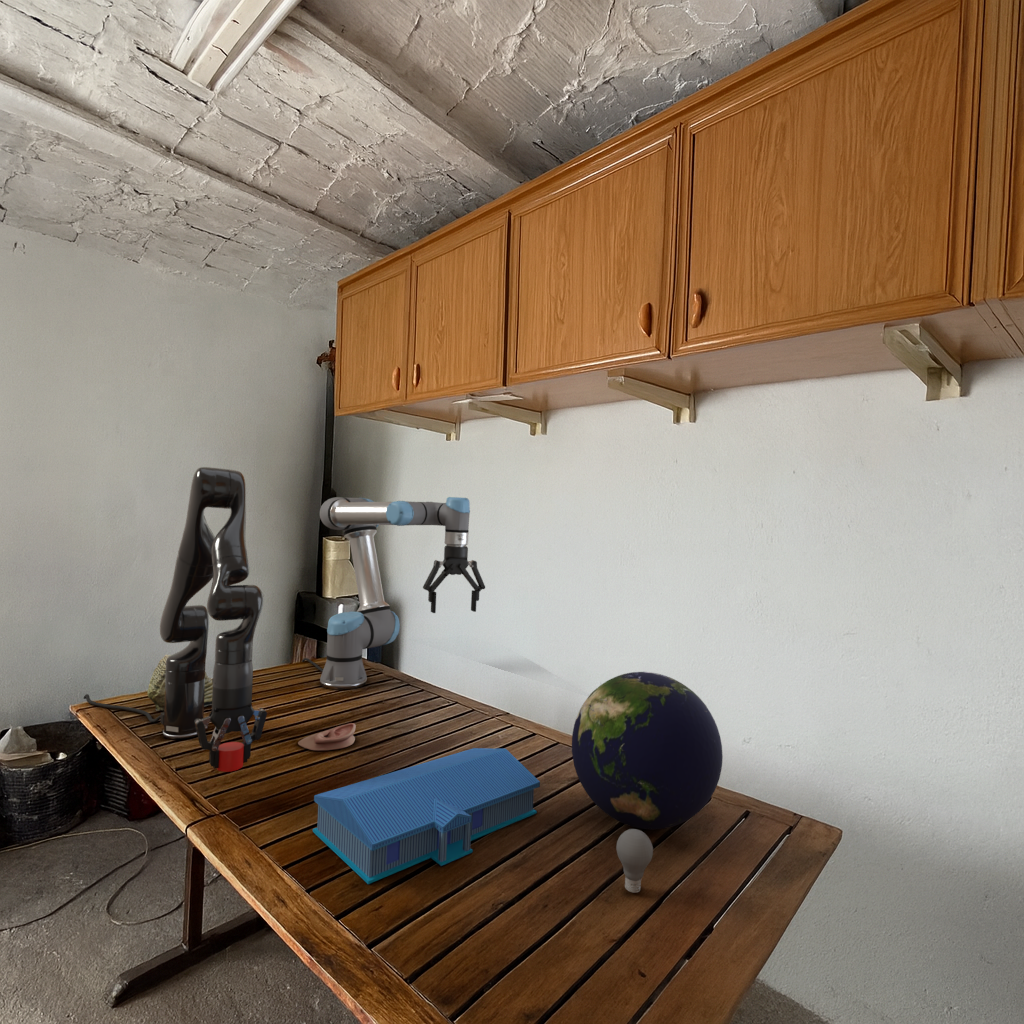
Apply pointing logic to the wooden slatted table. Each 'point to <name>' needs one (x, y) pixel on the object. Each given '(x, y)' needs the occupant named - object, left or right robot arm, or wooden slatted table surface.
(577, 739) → the globe
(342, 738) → the anatomical model
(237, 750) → the tin
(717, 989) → the wooden slatted table surface
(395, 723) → the wooden slatted table surface
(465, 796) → the model building
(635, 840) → the light bulb
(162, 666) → the fossil
